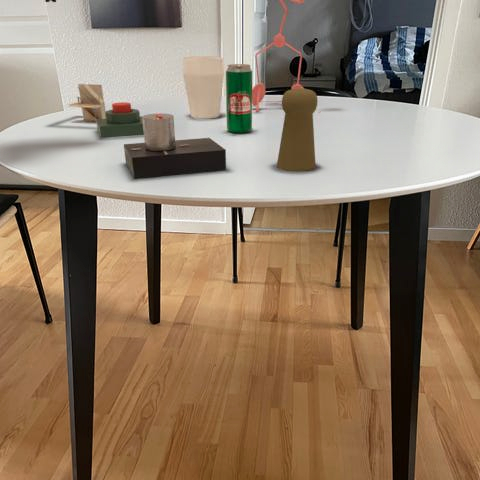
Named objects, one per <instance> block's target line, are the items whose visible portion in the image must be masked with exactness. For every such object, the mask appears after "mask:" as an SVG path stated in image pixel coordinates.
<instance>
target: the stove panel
mask: <svg viewBox="0 0 480 480" xmlns="http://www.w3.org/2000/svg"><path fill="white" fill-rule="evenodd" d="M175 144H176V147H175V148H174V149H172V150H167V151H150V150H147V149H145V142H136V143H135V142H134V143H124V144H123V151H124V160H125V164H126V166H127V168H128V170H129V172H130V174H131V175H132V177H133V179H144V178H145V179H146V178H155V177H157V178H158V177H165V176H177V175H188V174H198V173H208V172H219V171H227V150H226V148H224V147H223V146H221V145H220V144H218V143H217V142H216V141H214V139H212V138H211V137H202V138H188V139H175Z"/></svg>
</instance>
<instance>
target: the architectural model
mask: <svg viewBox="0 0 480 480" xmlns="http://www.w3.org/2000/svg"><path fill="white" fill-rule="evenodd" d="M77 86H78V87H77V89H78V92H79V96H78V95H77V96H76V98H77V102H73V103H69V104H67V106H68V108H80V109H81V111H82V116H81V115H76V116H71V119H82V118H83V121H87V122H88V121H89V122H96V119H106V115H105V112H106V111H107V110H106V105H105V99H104V92H103V86H102V84H93V83H92V84H89V83H86V84H85V83H78V85H77Z"/></svg>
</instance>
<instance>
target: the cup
mask: <svg viewBox="0 0 480 480" xmlns="http://www.w3.org/2000/svg"><path fill="white" fill-rule="evenodd" d="M224 69H225V68H224V58H223V56H186V57H183V59H182V75H183V80H184V87H185V92H186V98H187V103H188V107H189V108H188V109H189V114H190V117H191V118H193V119H200V120H201V119H203V120H204V119H205V120H206V119H208V120H209V119H211V120H212V119H216V118H219V117H220V115H221V104H222V97H223V96H222V95H223V86H224V85H223V84H224V76H225V71H224Z"/></svg>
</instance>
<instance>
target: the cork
mask: <svg viewBox="0 0 480 480" xmlns="http://www.w3.org/2000/svg"><path fill="white" fill-rule="evenodd" d="M303 88H304V87H303ZM303 88H297V89H288V90H286V91H284V93H283V95H282V98H281V101H282V102H281V108H282V110H283V112H284V119H283V125H282V129H281V130H282V132H281V136H280V144H279V149H278V155H277V161H276V167H277V168H278V169H280V170H283V171H288V172H307V171H311V170H314V169H315V168H316V149H315V148H316V147H315V131H314V112H315V111H316V110H317V107H318V96H317V93H316V92H315V91H314V90H311V89H308V88H304V89H303Z"/></svg>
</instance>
